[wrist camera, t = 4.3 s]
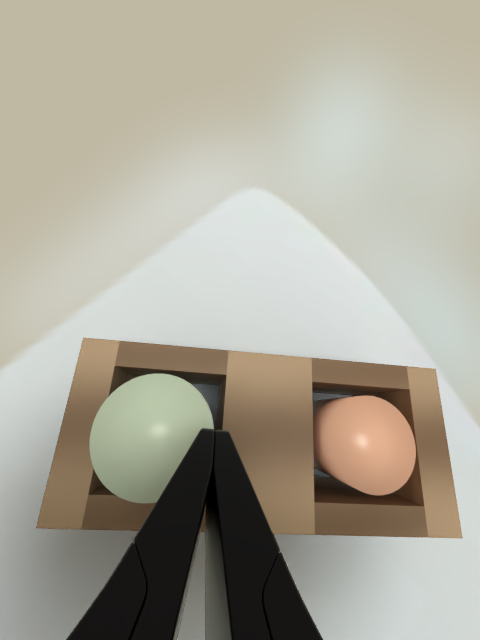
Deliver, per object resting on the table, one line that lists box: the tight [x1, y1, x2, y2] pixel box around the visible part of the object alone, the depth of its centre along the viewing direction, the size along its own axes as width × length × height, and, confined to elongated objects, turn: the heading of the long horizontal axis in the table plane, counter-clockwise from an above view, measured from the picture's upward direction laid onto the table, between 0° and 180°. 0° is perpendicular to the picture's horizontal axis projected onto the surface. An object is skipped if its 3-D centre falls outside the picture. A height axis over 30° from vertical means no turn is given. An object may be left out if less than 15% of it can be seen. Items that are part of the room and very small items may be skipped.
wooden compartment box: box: [36, 338, 462, 538], centre depth 16 cm, size 8×19×6 cm, turn 86°
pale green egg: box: [89, 374, 214, 503], centre depth 13 cm, size 4×4×5 cm
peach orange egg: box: [313, 396, 416, 495], centre depth 16 cm, size 4×4×5 cm
